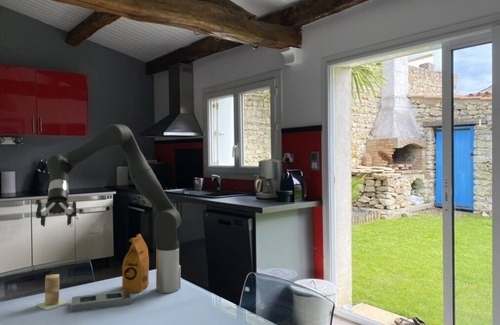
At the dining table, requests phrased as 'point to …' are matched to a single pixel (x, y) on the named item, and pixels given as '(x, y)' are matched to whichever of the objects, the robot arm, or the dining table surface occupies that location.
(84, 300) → the block with square holes
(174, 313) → the dining table surface
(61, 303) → the mat
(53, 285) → the peg
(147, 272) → the coffee package
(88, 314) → the dining table surface
